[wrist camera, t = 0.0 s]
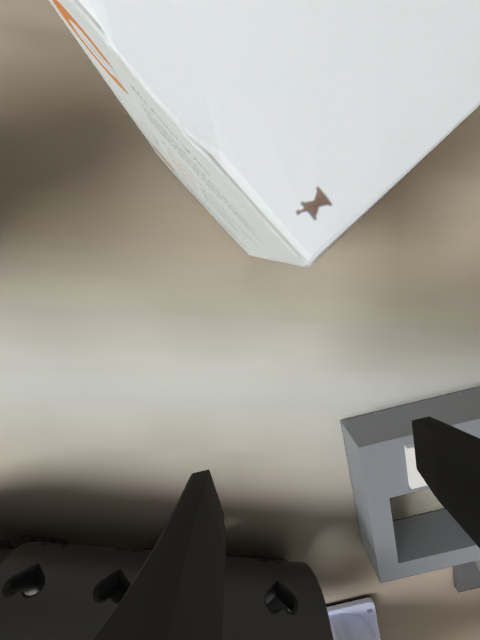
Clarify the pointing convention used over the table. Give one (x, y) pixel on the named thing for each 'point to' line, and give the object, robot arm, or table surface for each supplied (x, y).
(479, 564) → the plug
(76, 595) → the muzzle brake
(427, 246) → the table surface
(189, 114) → the small box
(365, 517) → the socket board
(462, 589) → the plug mat
